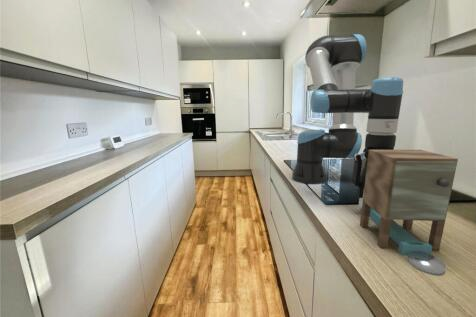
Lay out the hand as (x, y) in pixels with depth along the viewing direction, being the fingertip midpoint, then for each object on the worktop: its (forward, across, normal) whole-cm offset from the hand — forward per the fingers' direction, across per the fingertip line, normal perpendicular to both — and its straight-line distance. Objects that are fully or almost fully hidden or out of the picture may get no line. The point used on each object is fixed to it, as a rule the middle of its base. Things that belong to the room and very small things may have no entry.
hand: (371, 207), depth 70 cm
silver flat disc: (+3, 0, -24) cm, 24 cm away
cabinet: (+2, 0, -13) cm, 13 cm away
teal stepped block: (+2, 0, -9) cm, 10 cm away
